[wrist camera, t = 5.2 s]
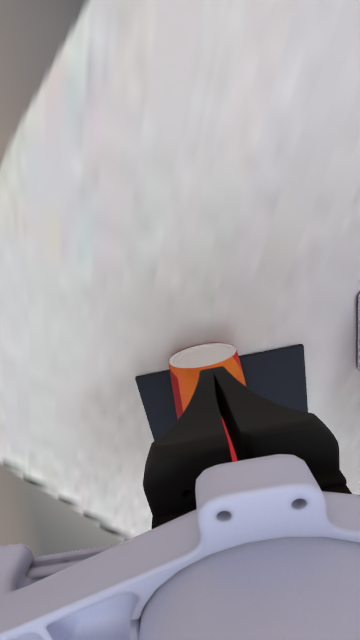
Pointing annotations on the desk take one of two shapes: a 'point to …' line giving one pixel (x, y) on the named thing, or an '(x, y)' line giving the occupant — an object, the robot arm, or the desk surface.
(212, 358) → the paper cup
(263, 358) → the desk mat
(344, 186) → the desk surface
